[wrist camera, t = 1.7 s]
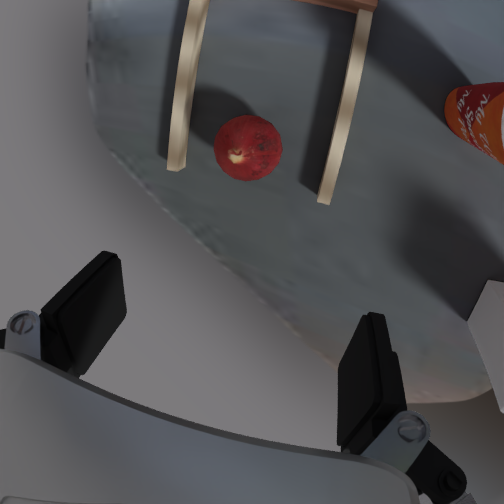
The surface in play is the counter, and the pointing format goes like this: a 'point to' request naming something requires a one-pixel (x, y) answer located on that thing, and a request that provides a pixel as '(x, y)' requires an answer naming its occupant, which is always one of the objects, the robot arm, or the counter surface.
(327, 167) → the wooden u-shaped frame
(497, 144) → the paper cup
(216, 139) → the red apple
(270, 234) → the counter surface
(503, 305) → the milk carton
